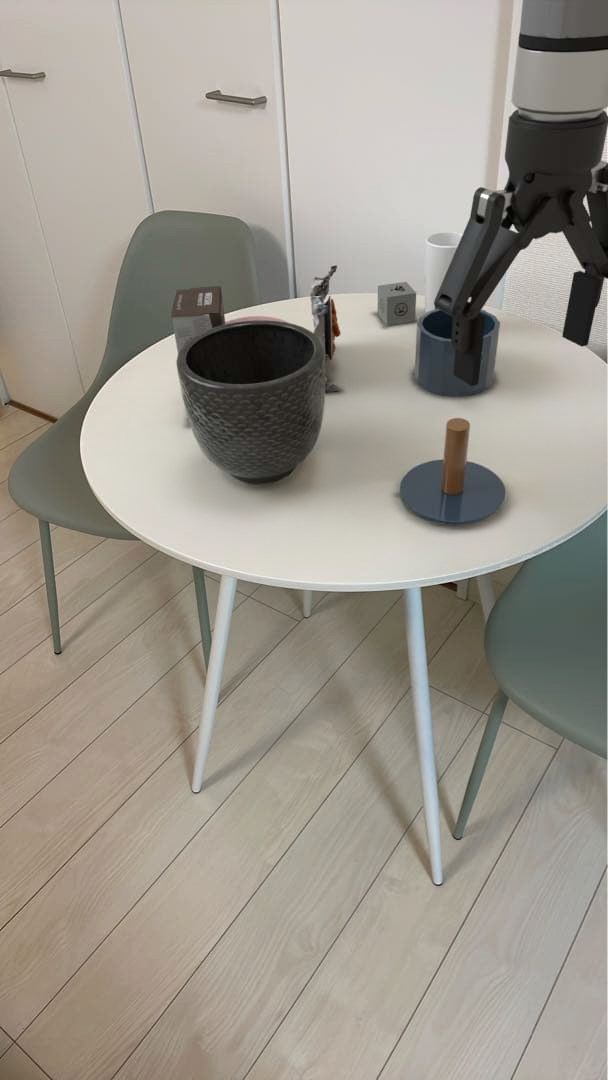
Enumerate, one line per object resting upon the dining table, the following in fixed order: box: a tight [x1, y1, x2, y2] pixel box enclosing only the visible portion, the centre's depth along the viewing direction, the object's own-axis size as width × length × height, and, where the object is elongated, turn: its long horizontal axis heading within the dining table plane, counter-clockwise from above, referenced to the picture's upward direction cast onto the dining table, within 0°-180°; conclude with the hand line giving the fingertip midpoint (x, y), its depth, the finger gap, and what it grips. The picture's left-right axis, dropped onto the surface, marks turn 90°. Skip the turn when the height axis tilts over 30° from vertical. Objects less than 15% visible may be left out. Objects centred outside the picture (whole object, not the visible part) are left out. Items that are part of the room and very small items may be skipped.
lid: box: [399, 417, 507, 526], centre depth 87 cm, size 12×12×10 cm
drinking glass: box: [423, 231, 463, 314], centre depth 118 cm, size 7×7×15 cm
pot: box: [414, 307, 501, 397], centre depth 109 cm, size 11×17×8 cm
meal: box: [310, 265, 342, 393], centre depth 112 cm, size 15×4×13 cm, turn 0°
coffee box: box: [170, 285, 226, 355], centre depth 104 cm, size 9×6×16 cm
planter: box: [176, 320, 326, 485], centre depth 92 cm, size 17×17×16 cm
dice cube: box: [377, 281, 417, 327], centre depth 127 cm, size 5×5×5 cm
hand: (521, 359), depth 72 cm, fingers open, 13 cm apart
